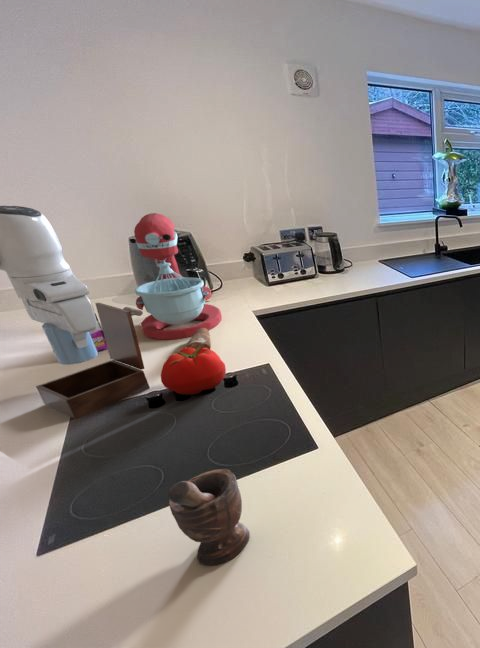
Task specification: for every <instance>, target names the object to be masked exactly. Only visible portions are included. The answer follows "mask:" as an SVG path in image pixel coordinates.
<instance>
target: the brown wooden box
mask: <svg viewBox="0 0 480 648" xmlns="http://www.w3.org/2000/svg"><path fill="white" fill-rule="evenodd" d="M35 389H36V390H37V392H38V394H39V396H40V398H41V400H42V403H43V404H44V405H45V406H46V407H49V408H50V409H53V410H55V411H57V412H58V413H61V414H63V415H64V416H67V417H69V418H71V419H73V420H78V419H81V418H82V417H86V416H88V415H90V414H92V413H94V412H97V411H100V410H102V409H104V408H106V407H109V406H111V405H114V404H116V403H118V402H121V401H123V400H125V399H128V398H130V397H132V396H135V395H137V394H140V393H142V392H145V391H147V390H149V389H151V388H150V385H149V382H148V379H147V376H146V374H145V371H144V370H143V369H142V370H140V369H138V368H135V367H132V366H129V365H127V364H124V363H121V362H118V361H116V360H113V359H110V360H108V361H105V362H102V363H99V364H96V365H94V366H91V367H87V368H85V369H82V370H79V371H76V372H73V373H70V374H67V375H64V376H62V377H59V378H55V379H53V380H50V381H47V382H45V383H41V384H39V385H36V386H35Z"/></svg>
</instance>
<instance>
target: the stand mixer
mask: <svg viewBox="0 0 480 648" xmlns="http://www.w3.org/2000/svg"><path fill="white" fill-rule="evenodd" d="M175 227H176V226H175V224H174V223H173V220H171V219H170V218H169V217H168V216H166V215H164V214H162V213H161V214H160V213H158V212H151V213H148V214H145V215H144V216H142V217H141V218H140V219H139V221H138V222H137V224H135V226H134V230H133V233H134V237H135V238H130V239H129V242H130V243H131V244H136V246H137V248H138V250H139V252H140V255H141V256H142V257H143V258H148V259H150V260H156V261H157V264H156V267H158V269H159V271H158V275H157V277H156V279H155V280H154V281H150V282H146V283H144V284H141V285H139V286H137V287H136V288H134V289H135V290H134V293H135V294H136V295H137V296H138V297H137V298H136V300H135V306H136V309H137V310H141V311H143V310H144V308H145V311H146V313H148V314H149V315H148V316H146V317H145V318H144V319H143V320H142V321H141V322H140V326H141V330H142V333H143V335H144V336H145V337H147V338H150V339H153V340H162V341H163V340H164V341H165V340H178V339H185V338H189V337H190V338H191V337H192V336H193V334H194V333H195V332H196V330H198V329H200V328H206V329H207V330H208V331H210V330H212V329H213V328H215V327H217V326H218V325H219V324H220V323H221V321H223V320H222V319H223V317H222V312H221V309H220V308H218V307H217V306H215V305H211V304H207V303H206V301H208V300H209V299H211V298H212V290H211V288H209V287H208V286H205V283H204V280H203V279H202V278H200V277H199V278H198V277H188V276H187V277H184V276H183V275H182V274H181V272H180V269H179V266H178V263H177V260H176V256H175V255H178V253H179V249H178V233H177V231H175ZM192 321H202V322H199V323H197V324H194V325H189V326H186V327H185V326H184V327H180V328H173V329H164V328H166V327H169V326H171V325H184V324H187V323H190V322H192Z"/></svg>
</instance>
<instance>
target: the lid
mask: <svg viewBox="0 0 480 648" xmlns="http://www.w3.org/2000/svg"><path fill="white" fill-rule="evenodd" d="M94 304H95V307H96V311H97V314H98V315H97V316H98V320H99V323H100V325H101V328H102V330H103V333H104V337H105V340H106V344H107V348H108V349H107V352H108V354H109V358H110V360H115V361H118V362H120V363H123V364H126V365H129V366H131V367H134V368H137V369H140V370H142V371H143V370H145V364H144V360H143V357H142V353H141V349H140V345H139V340H138V337H137V333H136V329H135V325H134V320H133V316H137V317H141V316H142V315H143V314H144V312H143V310H141V309H138V308H134V307H130V306H124V307H123V308H121V307H120V308H119V307H116V306H113V305H109V304H106V303H102V302H95V303H94Z"/></svg>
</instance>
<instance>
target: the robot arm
mask: <svg viewBox="0 0 480 648" xmlns="http://www.w3.org/2000/svg"><path fill="white" fill-rule="evenodd" d="M0 271H3V272H5V273H6V275H7V277H8V279H9V281H10V283H11V285H12V287H13V290H14V291H15V293H16V296H17V297H18V298H19V299H21V301H22V303H23V306H24V308H25V311H26V313H27V315H28V316H29V317H30V319H31V320H32V321H36V322H39V323H41V324H45V323H47V324H50V325H53V326H56V327H59V328H60V329H62V330H65V331H68V332H70V334H71V335H72V337H73V340H72V342H73V344H74V346H75V347H77V348H83V347H86V346H88V342H87V340H86V332H89V331H92V330H95V329H96V328H97V320H96V317H95V314H96V313H95V314H94V311H95V310H94V311H93V309H94V307H93V308H92V306H93V304H92V302H91V300H90V299H89V297H88V296H87V295H89V294H90V290H89V288H88V286H87V285H86V284H85V283H83V282H82V281H80V280H79V279H78V278H77V277H76V275H75V274H74V273H73V270H72V268H71V266H70V264H69V263H68V262H67V261H66V260H65V257H64V255H63V246H62V244H61V241H60V240H59V237H58V235H57V233H56V231H55V229H54V228H53V226H52V224H51V222H50V221H49V220H48V218H47V216H45V214H43V213H42V212H41V211H39V210H37V209H34V208H31V207H27V206H20V205H0ZM91 304H92V305H91Z"/></svg>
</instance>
